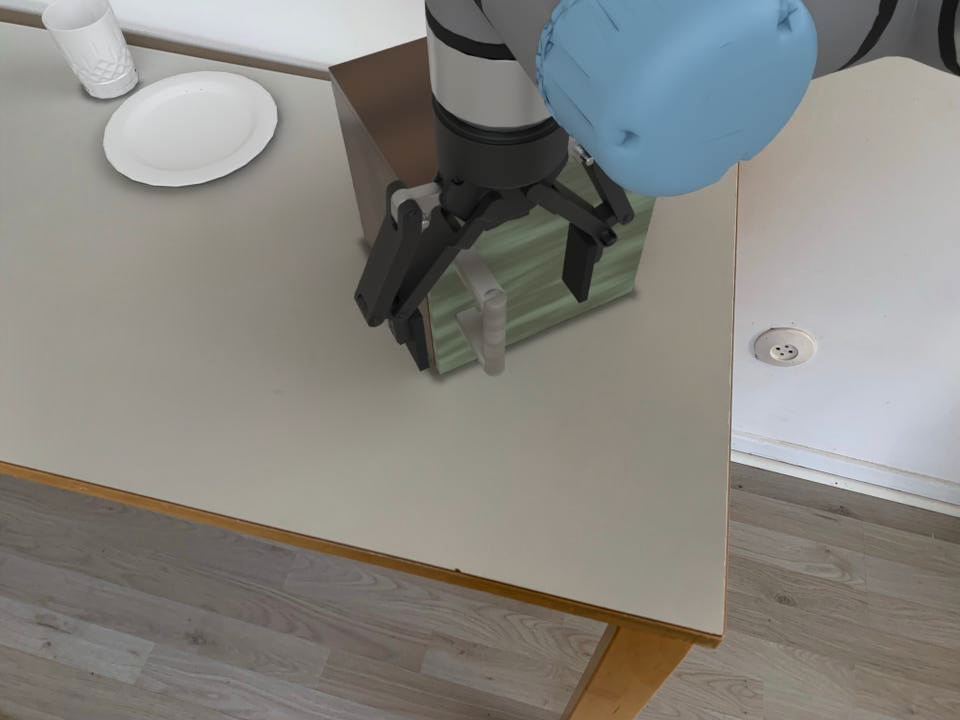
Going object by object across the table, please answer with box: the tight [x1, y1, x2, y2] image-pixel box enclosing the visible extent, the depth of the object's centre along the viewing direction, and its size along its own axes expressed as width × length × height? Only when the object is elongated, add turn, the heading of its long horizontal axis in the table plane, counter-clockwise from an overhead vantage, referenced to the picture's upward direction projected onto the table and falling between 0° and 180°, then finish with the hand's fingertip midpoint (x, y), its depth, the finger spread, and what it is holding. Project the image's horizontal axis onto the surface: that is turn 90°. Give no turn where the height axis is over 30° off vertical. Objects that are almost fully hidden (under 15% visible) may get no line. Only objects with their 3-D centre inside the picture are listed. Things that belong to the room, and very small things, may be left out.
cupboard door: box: [421, 156, 657, 377], centre depth 63 cm, size 7×22×22 cm, turn 117°
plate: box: [102, 70, 279, 189], centre depth 89 cm, size 21×21×2 cm
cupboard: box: [327, 35, 438, 367], centre depth 69 cm, size 18×22×22 cm
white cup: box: [41, 0, 139, 100], centre depth 91 cm, size 8×8×10 cm
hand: (498, 322), depth 56 cm, fingers open, 13 cm apart
